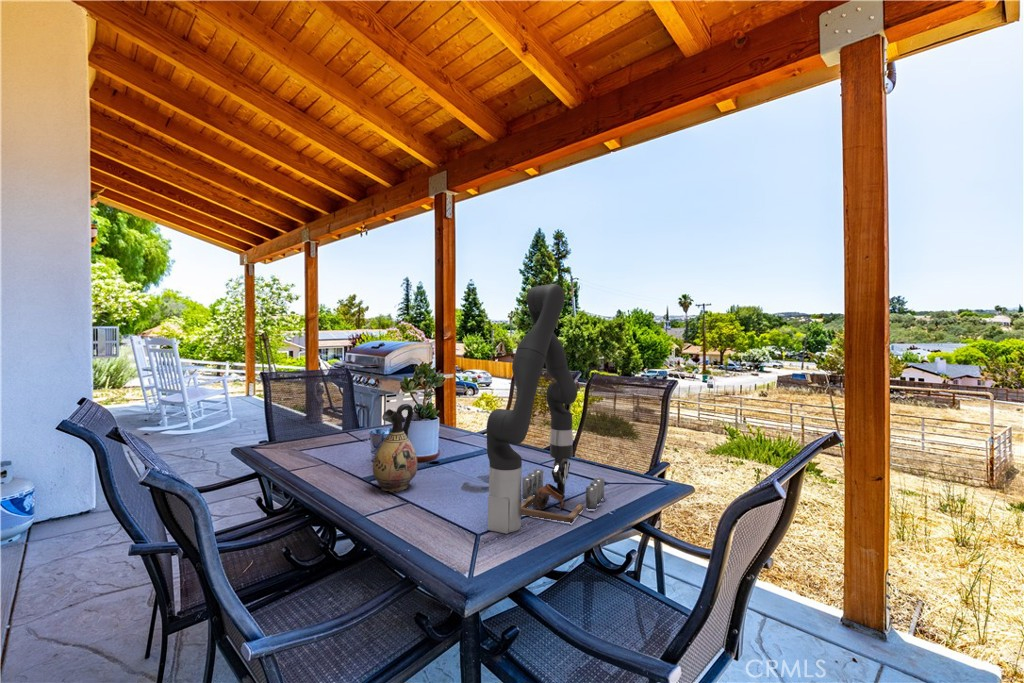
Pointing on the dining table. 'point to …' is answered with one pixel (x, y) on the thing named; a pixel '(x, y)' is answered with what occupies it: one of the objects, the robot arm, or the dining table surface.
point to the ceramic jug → (396, 453)
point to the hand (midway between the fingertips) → (560, 494)
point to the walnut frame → (548, 515)
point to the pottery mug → (547, 496)
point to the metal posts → (536, 482)
